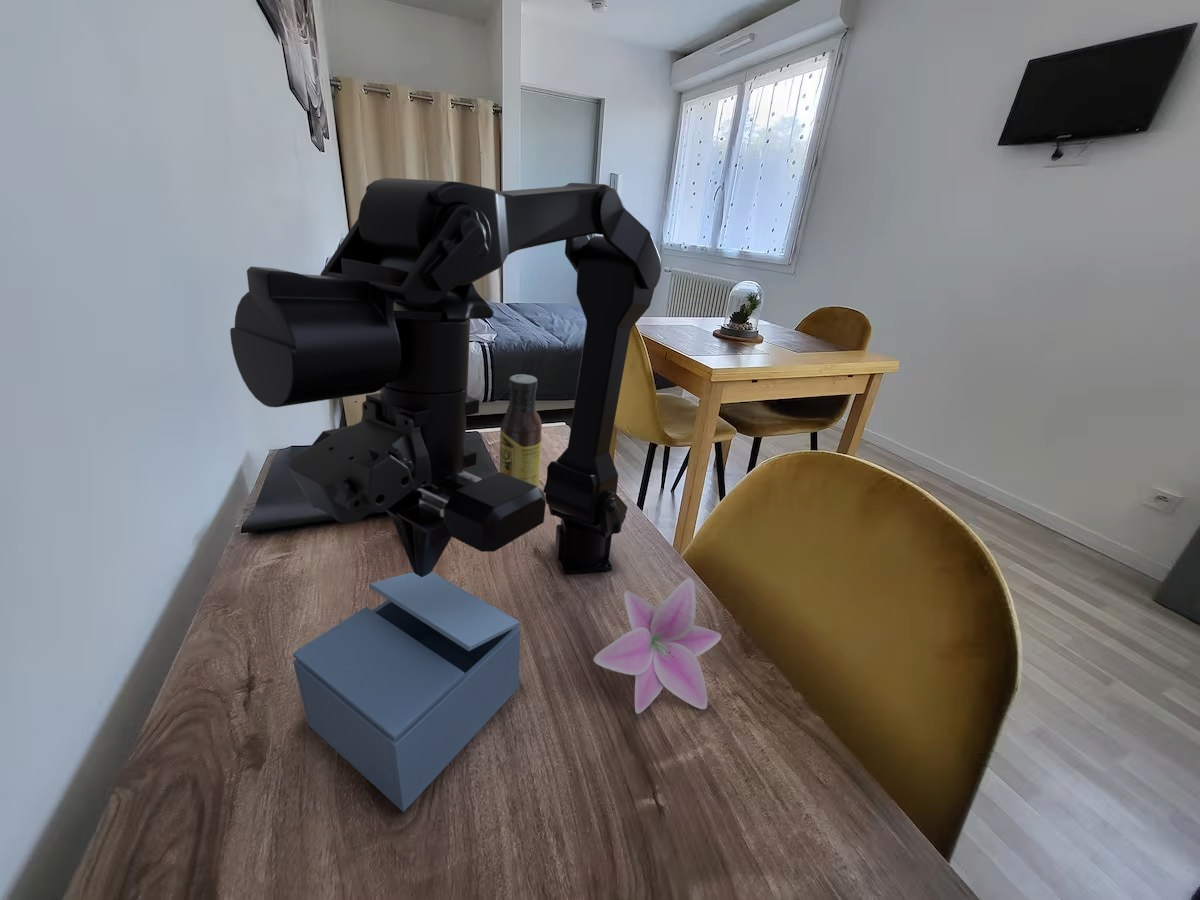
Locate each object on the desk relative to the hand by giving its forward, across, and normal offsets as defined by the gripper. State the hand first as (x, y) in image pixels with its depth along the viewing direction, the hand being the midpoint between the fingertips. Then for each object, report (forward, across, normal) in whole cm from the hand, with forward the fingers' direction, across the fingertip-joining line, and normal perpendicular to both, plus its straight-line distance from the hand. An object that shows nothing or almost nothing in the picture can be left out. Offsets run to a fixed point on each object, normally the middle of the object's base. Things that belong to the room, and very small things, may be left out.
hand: (423, 573), depth 39 cm
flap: (+5, 0, +2) cm, 5 cm away
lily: (+13, +16, +15) cm, 25 cm away
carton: (+14, 0, 0) cm, 14 cm away
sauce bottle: (+11, -17, +34) cm, 39 cm away
